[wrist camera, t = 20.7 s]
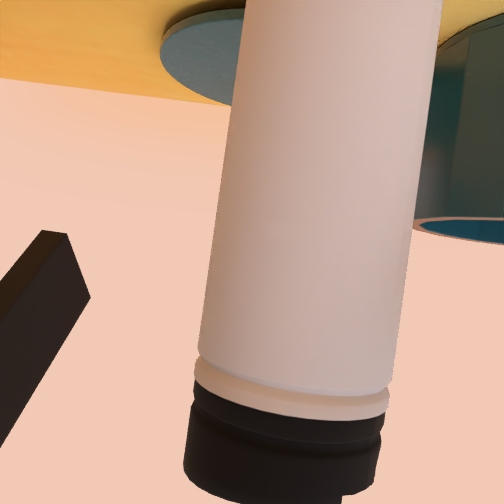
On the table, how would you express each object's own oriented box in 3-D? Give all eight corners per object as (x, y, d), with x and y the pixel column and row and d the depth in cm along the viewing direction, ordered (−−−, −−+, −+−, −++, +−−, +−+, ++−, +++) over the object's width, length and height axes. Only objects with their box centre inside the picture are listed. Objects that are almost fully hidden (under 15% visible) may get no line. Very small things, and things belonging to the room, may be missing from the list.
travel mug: (218, -138, 15) (132, 467, 15) (414, -264, 11) (299, 581, 11) (320, -32, 20) (256, 430, 20) (485, -91, 16) (406, 499, 16)
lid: (197, 93, 38) (182, 197, 38) (122, -12, 24) (98, 155, 24) (378, 109, 36) (362, 220, 36) (416, 4, 22) (391, 189, 22)
